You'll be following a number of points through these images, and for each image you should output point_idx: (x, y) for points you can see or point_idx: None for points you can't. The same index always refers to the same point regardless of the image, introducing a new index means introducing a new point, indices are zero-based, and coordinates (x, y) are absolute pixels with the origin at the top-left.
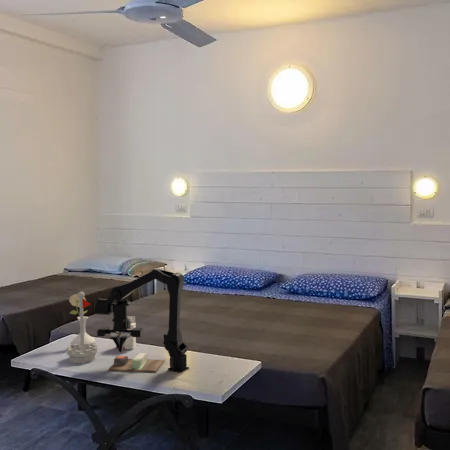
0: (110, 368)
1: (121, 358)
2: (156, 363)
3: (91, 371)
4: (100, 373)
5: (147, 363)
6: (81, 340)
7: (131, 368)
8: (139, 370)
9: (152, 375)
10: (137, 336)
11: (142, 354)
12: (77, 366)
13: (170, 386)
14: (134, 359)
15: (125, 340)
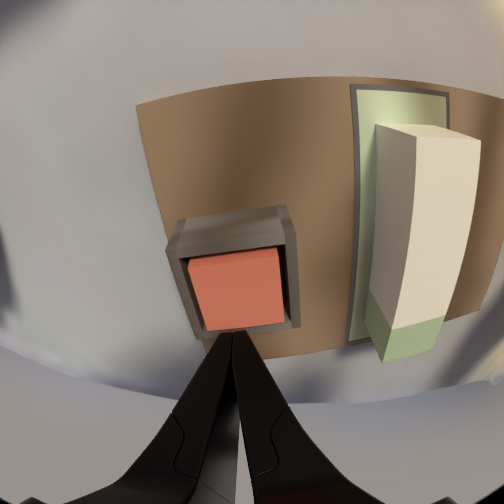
0: None
1: (263, 323)
2: (494, 193)
3: (130, 369)
4: None
5: None
6: None
7: (360, 329)
8: None
9: (455, 337)
10: (500, 493)
11: (455, 196)
12: (16, 314)
13: (480, 379)
14: (398, 345)
15: (323, 460)
